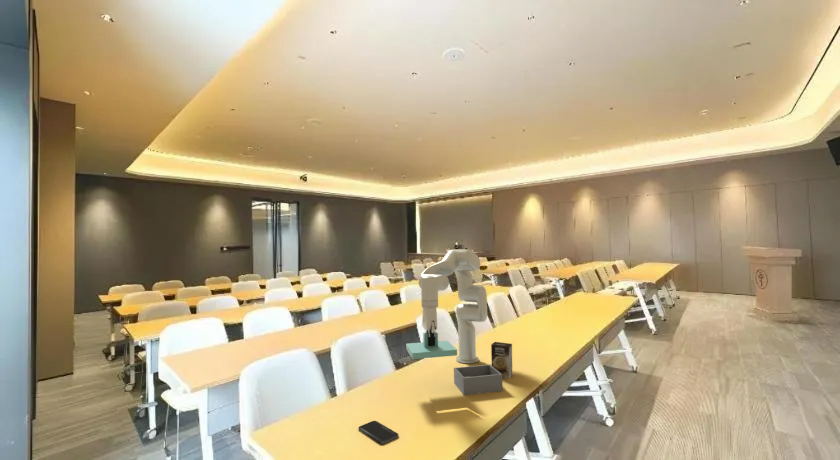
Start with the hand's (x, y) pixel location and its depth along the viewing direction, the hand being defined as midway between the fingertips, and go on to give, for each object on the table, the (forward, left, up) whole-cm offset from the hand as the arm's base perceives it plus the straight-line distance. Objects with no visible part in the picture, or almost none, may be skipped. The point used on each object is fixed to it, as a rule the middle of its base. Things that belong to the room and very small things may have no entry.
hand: (430, 344), depth 168 cm
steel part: (0, +17, -21) cm, 27 cm away
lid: (0, 0, -4) cm, 4 cm away
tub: (+2, +21, -21) cm, 30 cm away
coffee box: (-9, +38, -22) cm, 45 cm away
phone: (+30, -27, -22) cm, 46 cm away
